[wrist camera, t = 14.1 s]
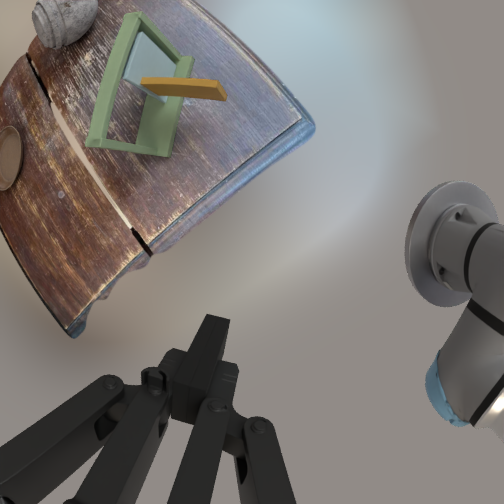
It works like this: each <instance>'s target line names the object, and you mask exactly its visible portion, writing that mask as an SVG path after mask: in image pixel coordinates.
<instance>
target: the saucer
mask: <svg viewBox="0 0 504 504" xmlns="http://www.w3.org/2000/svg"><path fill="white" fill-rule="evenodd" d="M22 161H23V144H22V140H21V137H20V134H19V133H18V131H17V130H16V129H15V128H14V127H13V126H7V127H5V128H4V129H3V130H2V131H1V132H0V190H6V189H8V188H9V187H10V186H11V185H12V184H13V183H14V181H15V180H16V178H17V176H18V174H19V171H20V169H21V165H22Z"/></svg>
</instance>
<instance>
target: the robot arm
mask: <svg viewBox="0 0 504 504" xmlns="http://www.w3.org/2000/svg"><path fill="white" fill-rule="evenodd" d="M428 259H429V265H430V269H431V272H432V274H433V276H434V277H435V279H436V280H437V281H438V282H439V283H440V284H441V285H443V286H444V287H446V288H447V289H449V290H453V291H458V292H467V293H473V294H472V296H471V298H470V300H469V303H468V304H467V306H466V308H465V310H464V312H463V314H462V315H461V317H460V319H459V321H458V323H457V324H456V326H455V328H454V329H453V331H452V333H451V334H450V336H449V338H448V339H447V341H446V342H445V344H444V346H443V347H442V348H441V350H439V351H438V353H437V355H436V358H435V360H434V362H433V363H432V365H431V366H430V368H429V370H428V371H427V374H426V383H425V387H426V391H427V394H428V397H429V400H430V402H431V403H432V405H433V407H434V408H435V410H436V411H437V412H438V413H439V414H440V415H441V417H442V418H444V419H445V420H446V421H447V420H449V421H450V423H451V424H452V425H454V426H458V427H459V426H465V425H467V424H469V423H471V424H472V426H473V427H474V428H475V429H479V428H486V427H488V428H491V429H492V430H493V431H494V433H495V434H496V435H497V436H498V437H499V438H500V439H501V440H502V441H503V443H504V225H502V224H498V223H496V222H494V221H493V220H492V219H491V218H490V217H489V216H488V215H487V214H486V213H484V212H483V211H482V210H481V209H479V208H478V207H476V206H473V205H468V204H457V205H454V206H452V207H450V208H449V209H447V210H446V211H445V212H444V213H443V214H442V215H441V216H440V218H439V219H438V221H437V222H436V224H435V226H434V228H433V231H432V234H431V237H430V241H429V248H428ZM229 323H230V319H226V318H222V317H218V316H214V315H209V314H207V315H206V316H205V318H204V320H203V322H202V324H201V326H200V328H199V330H198V332H197V334H196V336H195V338H194V340H193V342H192V344H191V346H190V348H189V349H188V351H187V352H185V351H182V350H178V349H175V348H173V349H171V350H169V351H168V352H167V353H166V354H165V356H164V357H163V359H162V361H161V362H160V364H159V366H158V367H148V368H146V369H144V370H143V371H142V372H141V381H142V382H141V383H142V385H126V384H124V383H123V381H122V380H121V379H120V378H119V377H117V376H115V375H104V376H101V377H100V378H98V379H97V380H95V381H94V382H93V383H91V384H90V385H88V386H87V387H86V388H84V389H83V390H82V391H80V392H79V393H77V394H76V395H74V396H73V397H72V398H70V399H69V400H67V401H66V402H64V403H63V404H62V405H60V406H59V407H57V408H56V409H55V410H53V411H52V412H50V413H49V414H47V415H46V416H45V417H43V418H42V419H40V420H39V421H37V422H36V423H35V424H33V425H32V426H31V427H29V428H27V429H26V430H24V431H23V432H21V433H20V434H19V435H17V436H16V437H14V438H13V439H12V440H10V441H8V442H7V443H6V444H4V445H3V446H1V447H0V504H38V503H39V502H40V501H41V500H42V499H44V498H45V497H46V496H47V495H48V494H50V493H51V492H52V491H53V490H54V489H55V488H57V487H58V486H59V485H60V484H61V483H62V482H63V481H65V480H66V479H67V478H68V477H69V476H70V475H71V474H73V473H74V472H75V471H76V470H77V469H78V468H79V467H81V466H82V465H83V464H84V463H85V462H86V461H87V460H88V459H89V458H91V456H93V455H94V454H95V453H96V452H97V451H98V450H99V449H100V448H102V447H103V446H104V447H103V449H102V450H101V452H100V454H99V456H98V457H97V459H96V460H95V462H94V464H93V466H92V467H91V469H90V471H89V473H88V474H87V476H86V478H85V479H84V481H83V483H82V485H81V486H80V488H79V490H78V491H77V493H76V495H75V496H74V498H72V499H68V500H66V501H65V502H64V503H63V504H135V502H136V500H137V498H138V495H139V493H140V491H141V488H142V486H143V483H144V481H145V479H146V476H147V474H148V471H149V469H150V467H151V464H152V462H153V460H154V457H155V455H156V453H157V450H158V448H159V445H160V443H161V441H162V439H163V436H164V434H165V431H166V429H167V427H168V419H169V416H170V414H171V418H172V419H175V420H178V421H181V422H185V423H188V424H192V425H194V427H193V429H192V432H191V435H190V438H189V441H188V444H187V447H186V450H185V453H184V456H183V459H182V461H181V465H180V467H179V470H178V473H177V476H176V479H175V482H174V485H173V488H172V490H171V493H170V496H169V499H168V502H167V504H210V501H211V497H212V493H213V488H214V484H215V480H216V475H217V471H218V466H219V462H220V458H221V453H222V450H223V451H225V452H227V453H229V454H231V455H233V456H234V463H235V469H236V476H237V483H238V489H239V495H240V501H241V504H296V501H295V498H294V494H293V491H292V488H291V484H290V481H289V478H288V474H287V471H286V467H285V464H284V461H283V457H282V453H281V450H280V446H279V443H278V439H277V436H276V432H275V429H274V426H273V424H272V423H271V422H270V421H269V420H268V419H265V418H263V417H258V416H257V417H251V418H249V419H247V418H245V417H243V416H241V415H239V414H238V413H237V412H236V411H235V410H234V408H233V405H232V401H233V396H234V392H235V387H236V382H237V378H238V373H239V369H238V367H237V364H235V363H230V362H226V361H222V357H223V354H224V349H225V344H226V339H227V334H228V329H229Z"/></svg>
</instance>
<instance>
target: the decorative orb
mask: <svg viewBox="0 0 504 504" xmlns="http://www.w3.org/2000/svg"><path fill="white" fill-rule="evenodd" d="M97 11H98V1H97V0H38V1H37V2H36V6H35V8H34V10H33V11H32V19H33V23H34V27H35V30H36V32H37V35H38V37H39V38H40V40H41V42H42V43H43V45H44V46H45V47H50V48H53V49H60V48H61V46H62V45H64V46H67V45H69V44H71V43H73V42H75V41H76V40H78V39H79V38H80V37H82V36H83V35H84V34H85V33H86V32H87V31H88V30H89V28H90V27H91V25H92V24H93V22H94V20H95V18H96V15H97Z"/></svg>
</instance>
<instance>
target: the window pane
mask: <svg viewBox="0 0 504 504" xmlns="http://www.w3.org/2000/svg"><path fill="white" fill-rule="evenodd" d="M175 69H176V65H175V64H174V63H173V62H172V61H171V60H170V59H169V58H168V57H167V56H166V55H165V54H164V53H163V52H162V51H161V50H160V49H159V48H158V47H157V46H156V45H155V44H154V43H153V42H152V41H151V40H150V39H149V38H148V37H147V36H146V35H145V34H144V33H143V32H138V35H137V38H136V40H135V43H134V46H133V48H132V51H131V54H130V57H129V60H128V63H127V66H126V69H125V72H124V75H123V80H125V81H127V82H129V83H130V84H132V85H134V86H135V87H137V88H139V89H141V90H142V91H144V92H146V93H147V94H149V95H151V96H152V97H154V98H156V99H157V100H159V101H161V102H162V103H166V102H167V98H168V96H175V97H189V98H200V99H210V100H219V101H226V99H227V94H226V92H225V90H224V89H223V87H222V86H221V84H220V82H219V81H218V80H208V79H195V78H175V77H173V76H174V72H175Z"/></svg>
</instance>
